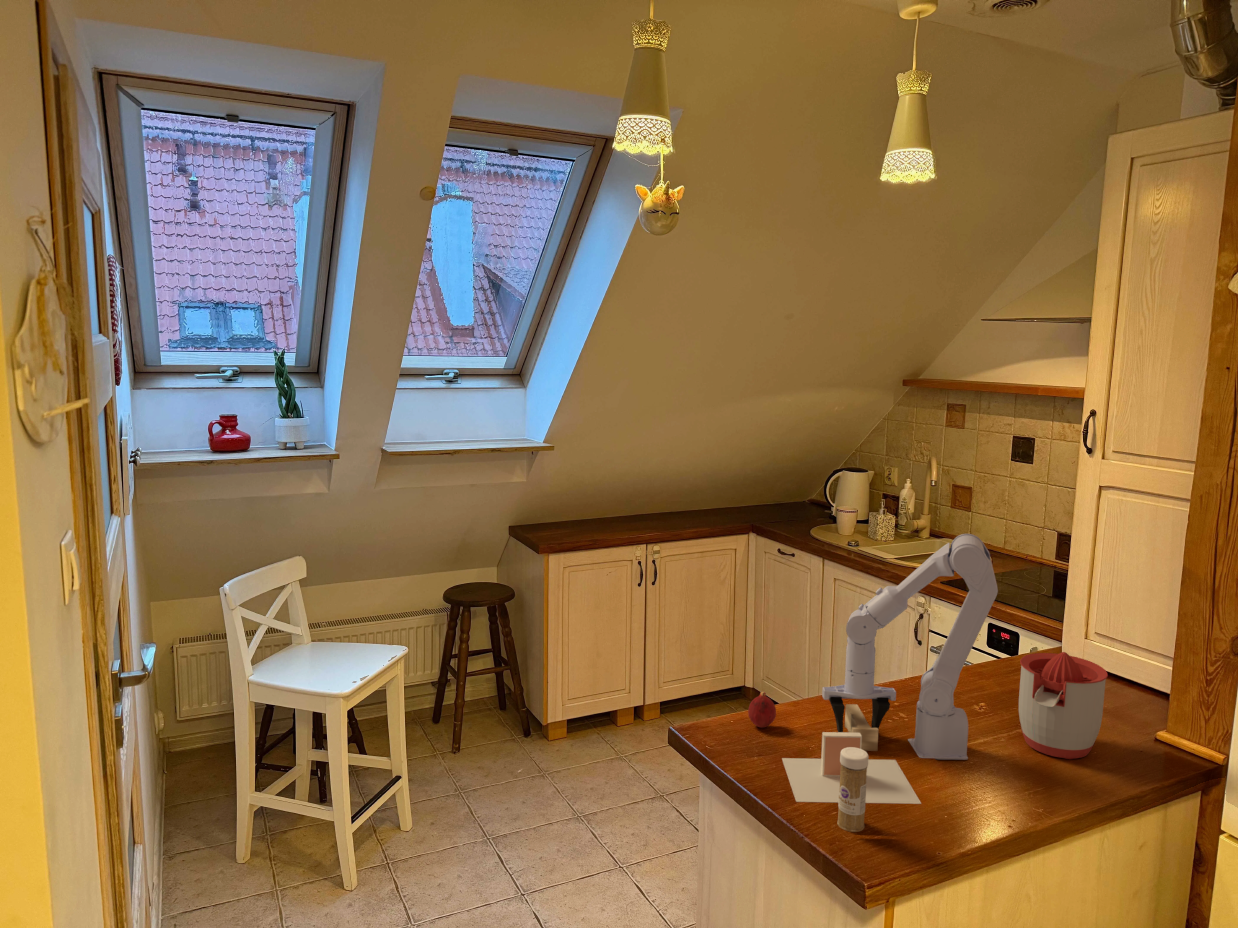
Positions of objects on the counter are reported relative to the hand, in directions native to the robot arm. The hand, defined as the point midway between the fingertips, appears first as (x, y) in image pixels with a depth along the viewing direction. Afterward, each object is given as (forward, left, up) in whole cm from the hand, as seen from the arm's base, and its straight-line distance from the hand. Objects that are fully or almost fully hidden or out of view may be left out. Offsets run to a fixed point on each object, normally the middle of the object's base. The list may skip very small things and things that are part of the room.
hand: (857, 731), depth 180 cm
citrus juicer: (-39, +3, -2) cm, 39 cm away
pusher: (0, 0, -2) cm, 2 cm away
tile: (+7, +16, -1) cm, 17 cm away
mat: (+6, +18, -1) cm, 19 cm away
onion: (+19, -4, -2) cm, 19 cm away
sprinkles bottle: (+9, +33, -2) cm, 34 cm away
